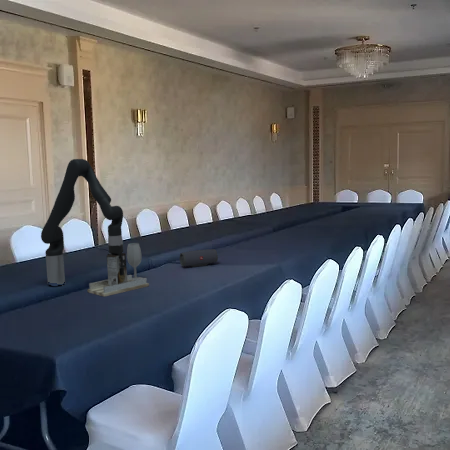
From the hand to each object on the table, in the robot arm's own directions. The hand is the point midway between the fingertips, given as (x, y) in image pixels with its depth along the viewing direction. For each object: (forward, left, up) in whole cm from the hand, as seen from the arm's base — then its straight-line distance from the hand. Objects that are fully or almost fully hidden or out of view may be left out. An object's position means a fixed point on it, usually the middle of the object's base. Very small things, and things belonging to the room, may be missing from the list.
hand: (117, 274), depth 295 cm
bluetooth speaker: (-11, +67, -8) cm, 68 cm away
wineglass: (-10, +18, -8) cm, 22 cm away
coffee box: (0, 0, -6) cm, 6 cm away
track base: (0, 0, -8) cm, 8 cm away
